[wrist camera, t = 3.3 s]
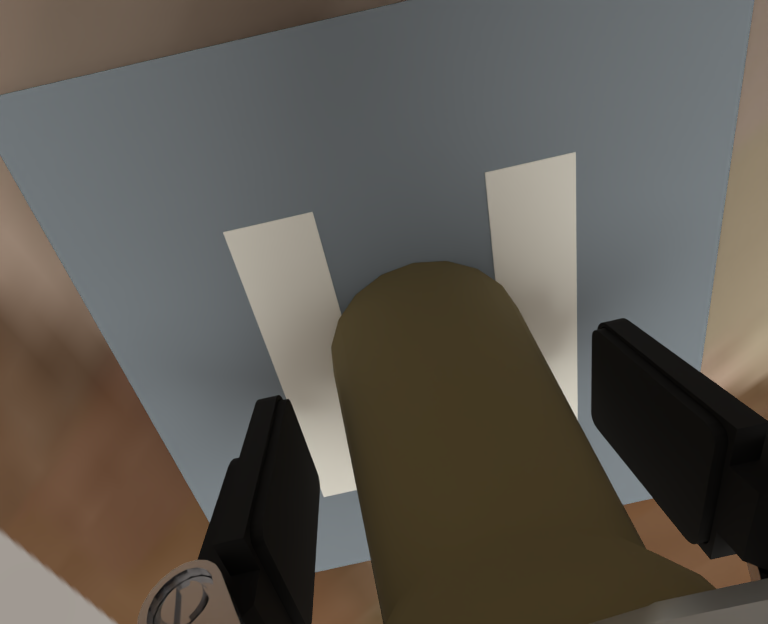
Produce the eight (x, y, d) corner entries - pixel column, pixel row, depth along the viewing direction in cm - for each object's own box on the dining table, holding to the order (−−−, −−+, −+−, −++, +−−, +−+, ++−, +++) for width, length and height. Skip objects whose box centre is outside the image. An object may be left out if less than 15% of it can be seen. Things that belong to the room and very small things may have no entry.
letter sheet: (-23, 102, 10) (-32, 102, 9) (758, -80, 9) (768, -84, 9) (247, 582, 17) (246, 588, 17) (679, 487, 17) (683, 492, 17)
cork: (355, 446, 14) (379, 1169, 5) (307, 285, 12) (127, 1152, 2) (528, 409, 14) (929, 1053, 5) (519, 240, 12) (1416, 889, 2)
